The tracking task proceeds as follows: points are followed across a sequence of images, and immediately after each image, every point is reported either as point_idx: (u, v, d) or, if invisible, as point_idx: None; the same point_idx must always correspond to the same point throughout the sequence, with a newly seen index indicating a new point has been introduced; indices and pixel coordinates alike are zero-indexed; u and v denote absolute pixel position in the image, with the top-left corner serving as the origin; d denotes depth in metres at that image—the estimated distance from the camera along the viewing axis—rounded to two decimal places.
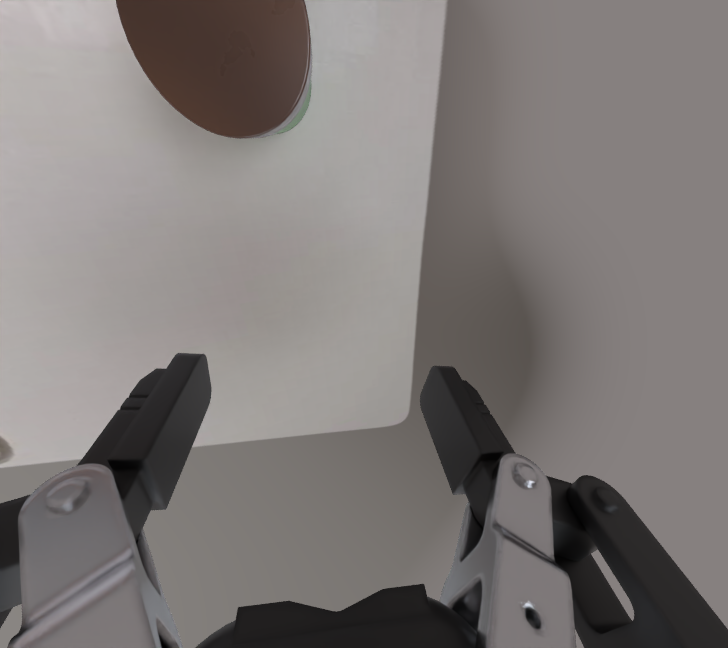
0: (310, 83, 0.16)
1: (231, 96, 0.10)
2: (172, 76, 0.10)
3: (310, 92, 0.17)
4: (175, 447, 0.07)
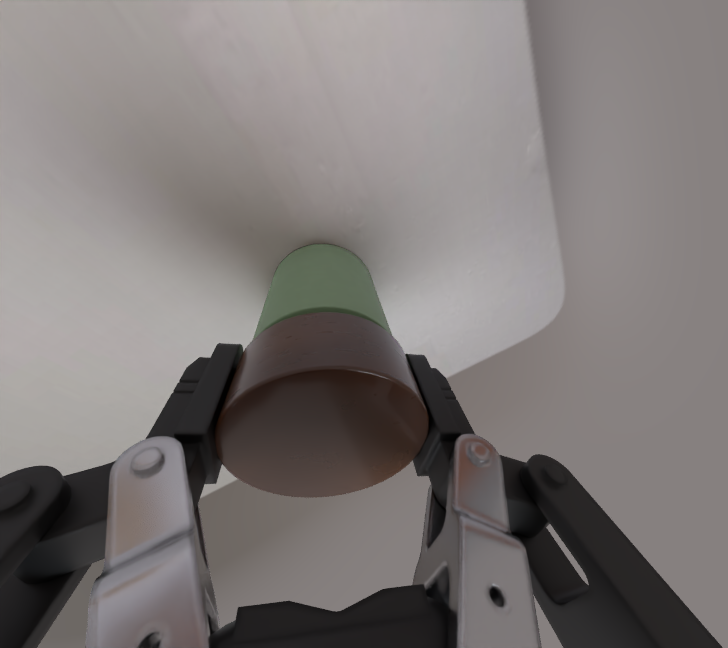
0: None
1: (277, 467, 0.08)
2: (247, 430, 0.07)
3: None
4: None
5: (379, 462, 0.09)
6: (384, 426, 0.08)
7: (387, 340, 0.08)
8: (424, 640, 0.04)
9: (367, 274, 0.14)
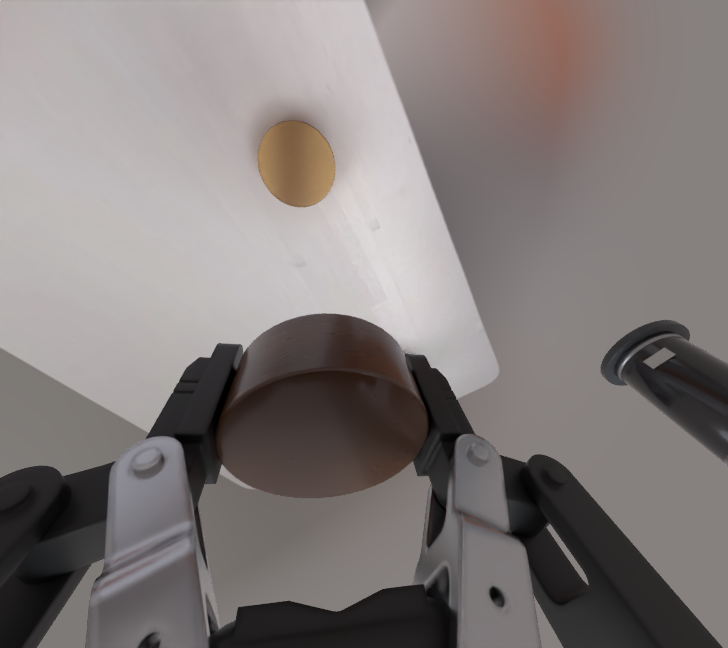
0: None
1: (277, 468, 0.08)
2: (248, 431, 0.07)
3: None
4: None
5: (379, 463, 0.09)
6: (384, 427, 0.08)
7: (387, 342, 0.08)
8: (424, 640, 0.04)
9: None
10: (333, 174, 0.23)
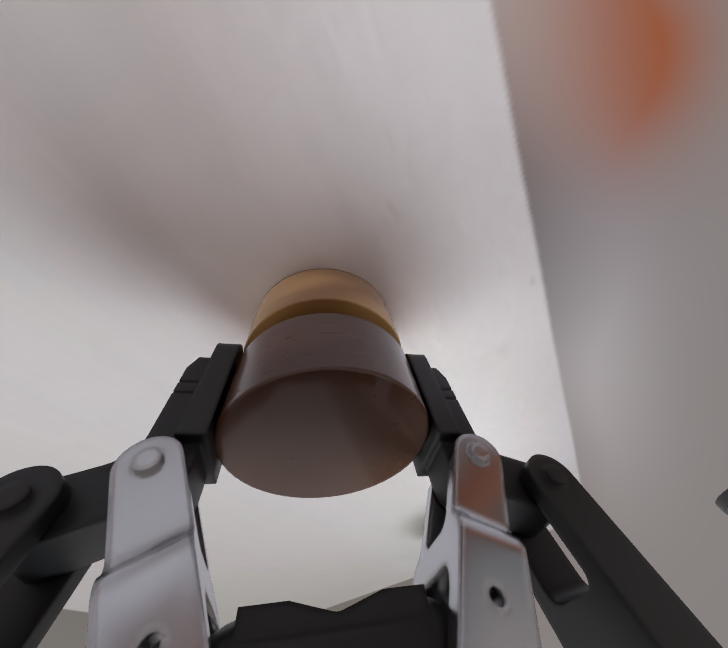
0: None
1: (277, 468, 0.08)
2: (247, 431, 0.07)
3: None
4: None
5: (379, 463, 0.09)
6: (384, 427, 0.08)
7: (387, 341, 0.08)
8: (424, 640, 0.04)
9: None
10: None
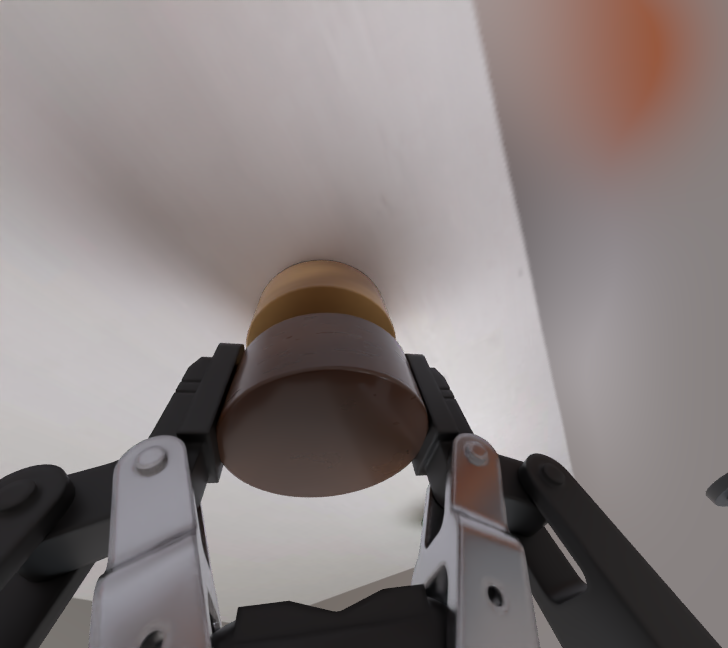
0: None
1: (277, 467, 0.08)
2: (248, 430, 0.07)
3: None
4: None
5: (379, 462, 0.09)
6: (384, 426, 0.08)
7: (387, 341, 0.08)
8: (423, 640, 0.04)
9: None
10: None
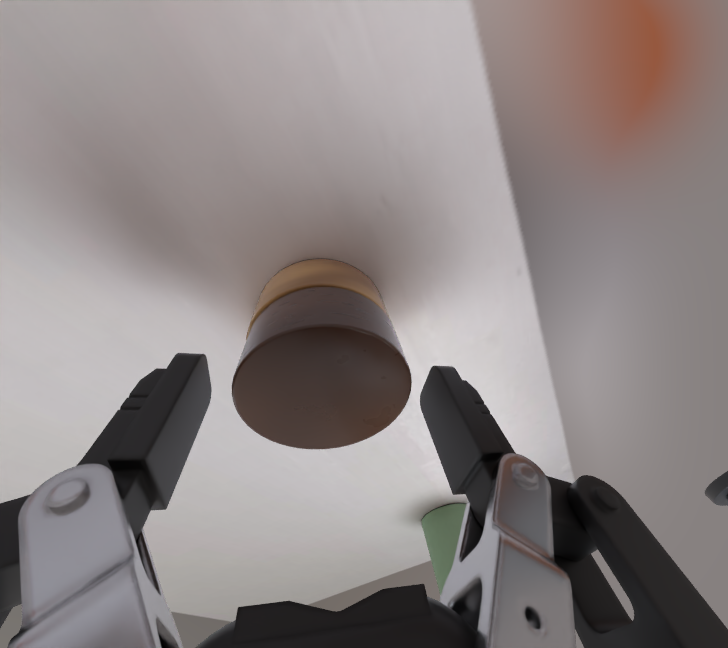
0: None
1: (283, 418, 0.10)
2: (260, 381, 0.09)
3: None
4: (175, 448, 0.07)
5: (370, 415, 0.10)
6: (373, 380, 0.09)
7: (376, 311, 0.10)
8: (451, 640, 0.04)
9: None
10: None
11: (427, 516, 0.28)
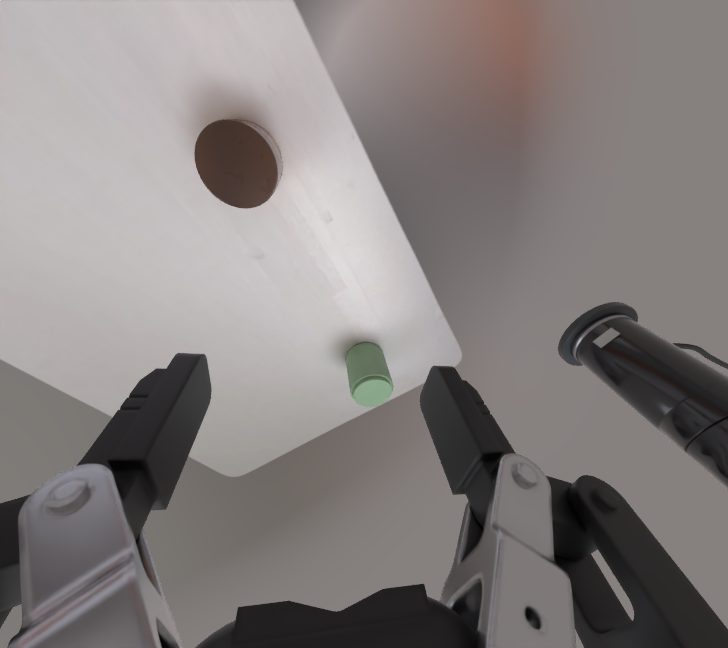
0: None
1: (219, 179, 0.22)
2: (206, 151, 0.21)
3: None
4: (175, 447, 0.07)
5: (261, 184, 0.22)
6: (257, 158, 0.21)
7: (261, 132, 0.22)
8: (451, 640, 0.04)
9: (382, 354, 0.39)
10: None
11: (348, 353, 0.40)
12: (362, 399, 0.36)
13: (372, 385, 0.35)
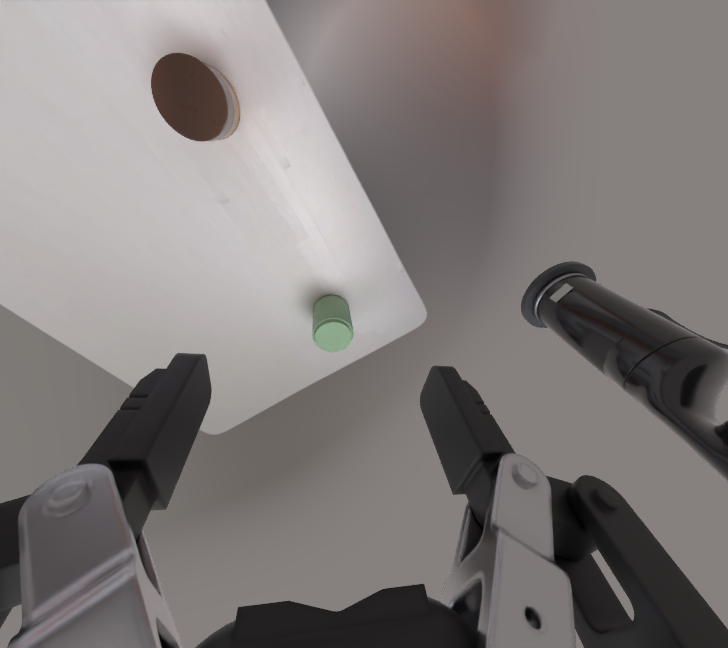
0: None
1: (175, 111, 0.24)
2: (161, 83, 0.23)
3: None
4: (175, 448, 0.07)
5: (213, 117, 0.25)
6: (208, 91, 0.24)
7: (213, 70, 0.25)
8: (451, 640, 0.04)
9: (346, 305, 0.42)
10: None
11: (314, 305, 0.42)
12: (323, 343, 0.38)
13: (331, 328, 0.37)
